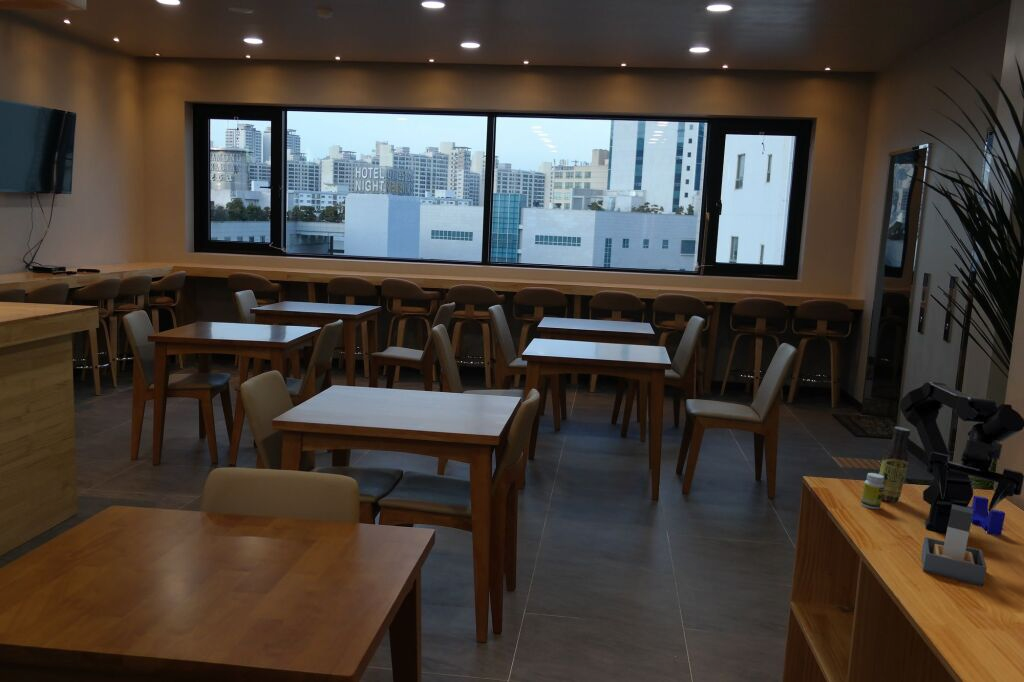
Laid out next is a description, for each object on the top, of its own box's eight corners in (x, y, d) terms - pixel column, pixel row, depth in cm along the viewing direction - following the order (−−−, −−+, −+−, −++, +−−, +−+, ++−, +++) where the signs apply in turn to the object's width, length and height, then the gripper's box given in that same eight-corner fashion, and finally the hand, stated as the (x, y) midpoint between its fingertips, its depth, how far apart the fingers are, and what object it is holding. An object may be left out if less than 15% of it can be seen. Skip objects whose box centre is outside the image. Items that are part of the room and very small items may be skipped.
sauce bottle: (877, 501, 218) (891, 429, 215) (871, 493, 224) (884, 423, 221) (903, 505, 217) (917, 432, 214) (896, 497, 223) (909, 427, 220)
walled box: (921, 553, 183) (924, 536, 182) (978, 567, 178) (981, 550, 178) (922, 571, 173) (926, 553, 172) (982, 586, 168) (986, 567, 168)
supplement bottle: (878, 510, 210) (884, 479, 208) (859, 505, 212) (864, 474, 211) (881, 506, 214) (887, 475, 212) (862, 501, 216) (867, 470, 215)
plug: (940, 560, 178) (952, 504, 176) (961, 566, 176) (973, 509, 174) (939, 566, 175) (951, 508, 173) (960, 572, 173) (972, 514, 171)
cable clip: (963, 516, 213) (967, 494, 212) (981, 519, 212) (986, 497, 212) (980, 533, 201) (985, 510, 201) (1000, 536, 201) (1005, 513, 200)
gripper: (936, 417, 186) (919, 473, 179) (1032, 437, 175) (1017, 497, 168) (936, 444, 193) (919, 499, 186) (1027, 465, 183) (1013, 524, 176)
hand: (965, 504), depth 179 cm, fingers open, 9 cm apart
